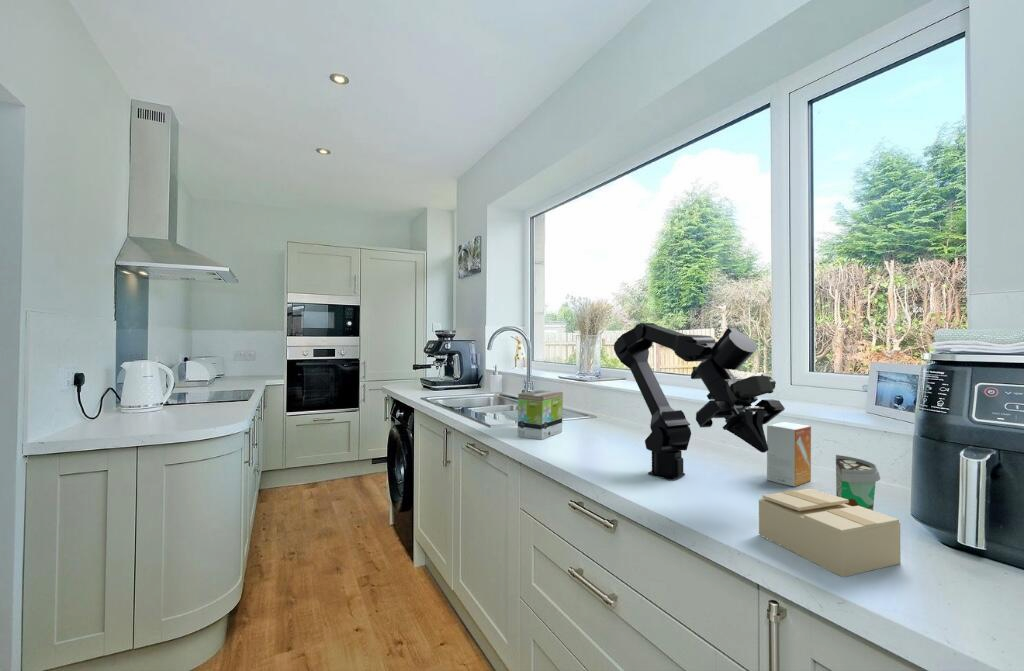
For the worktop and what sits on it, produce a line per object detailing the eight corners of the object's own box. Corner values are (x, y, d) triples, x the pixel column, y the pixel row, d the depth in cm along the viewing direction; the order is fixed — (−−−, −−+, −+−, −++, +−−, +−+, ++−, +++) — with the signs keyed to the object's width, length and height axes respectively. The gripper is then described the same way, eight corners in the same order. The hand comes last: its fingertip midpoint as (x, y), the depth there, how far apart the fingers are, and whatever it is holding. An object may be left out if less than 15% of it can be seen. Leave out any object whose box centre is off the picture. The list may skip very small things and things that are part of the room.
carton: (758, 534, 76) (758, 496, 76) (811, 525, 79) (811, 488, 79) (842, 577, 62) (842, 530, 62) (900, 563, 66) (900, 519, 66)
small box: (795, 487, 99) (795, 429, 100) (766, 480, 105) (765, 424, 105) (812, 481, 104) (811, 425, 104) (783, 474, 109) (783, 421, 109)
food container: (886, 533, 76) (886, 475, 76) (841, 525, 79) (841, 469, 80) (874, 509, 87) (874, 458, 87) (835, 503, 90) (835, 454, 90)
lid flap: (762, 498, 76) (762, 494, 76) (809, 491, 79) (809, 487, 79) (799, 510, 69) (799, 507, 69) (848, 502, 73) (848, 499, 73)
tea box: (542, 440, 145) (542, 395, 146) (516, 437, 151) (516, 393, 151) (563, 432, 158) (563, 390, 158) (538, 429, 164) (538, 389, 164)
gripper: (712, 357, 84) (760, 430, 74) (779, 360, 91) (831, 426, 81) (678, 392, 91) (718, 462, 81) (742, 392, 98) (786, 456, 89)
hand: (765, 451), depth 83 cm, fingers closed
